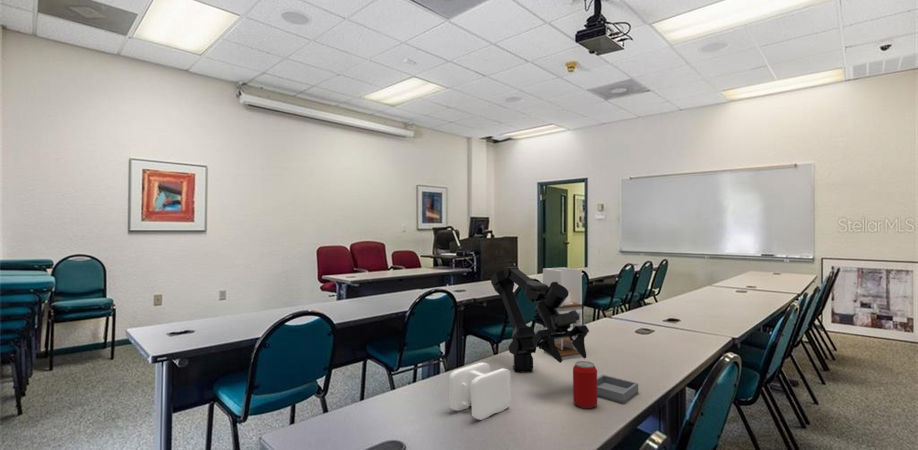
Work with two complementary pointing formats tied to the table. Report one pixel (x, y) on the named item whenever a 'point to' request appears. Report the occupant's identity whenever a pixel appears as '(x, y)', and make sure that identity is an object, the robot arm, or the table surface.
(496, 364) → the table surface
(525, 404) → the table surface
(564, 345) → the display case
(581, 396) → the beverage can
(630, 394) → the coaster tray
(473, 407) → the cable organizer
